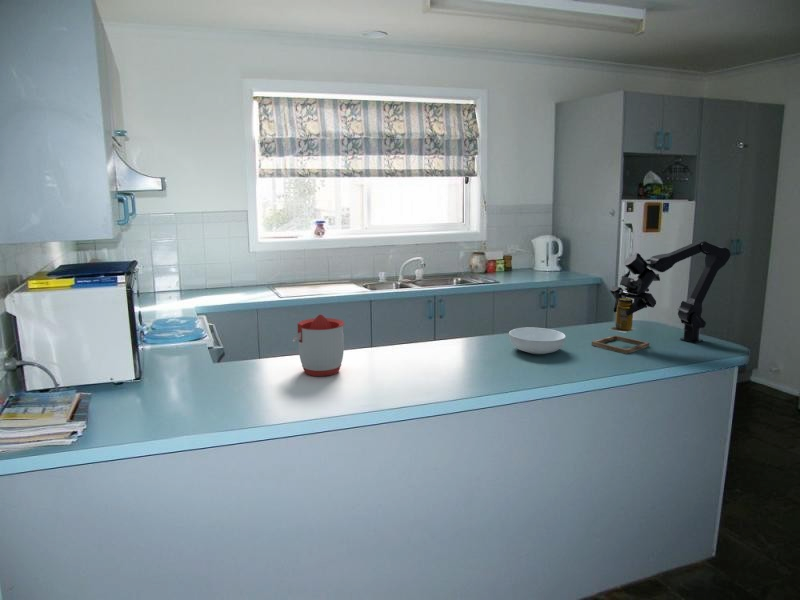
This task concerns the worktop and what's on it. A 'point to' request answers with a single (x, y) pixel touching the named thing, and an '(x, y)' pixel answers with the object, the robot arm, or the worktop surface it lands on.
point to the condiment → (623, 316)
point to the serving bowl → (537, 340)
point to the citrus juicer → (320, 345)
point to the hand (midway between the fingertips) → (620, 313)
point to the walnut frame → (600, 344)
